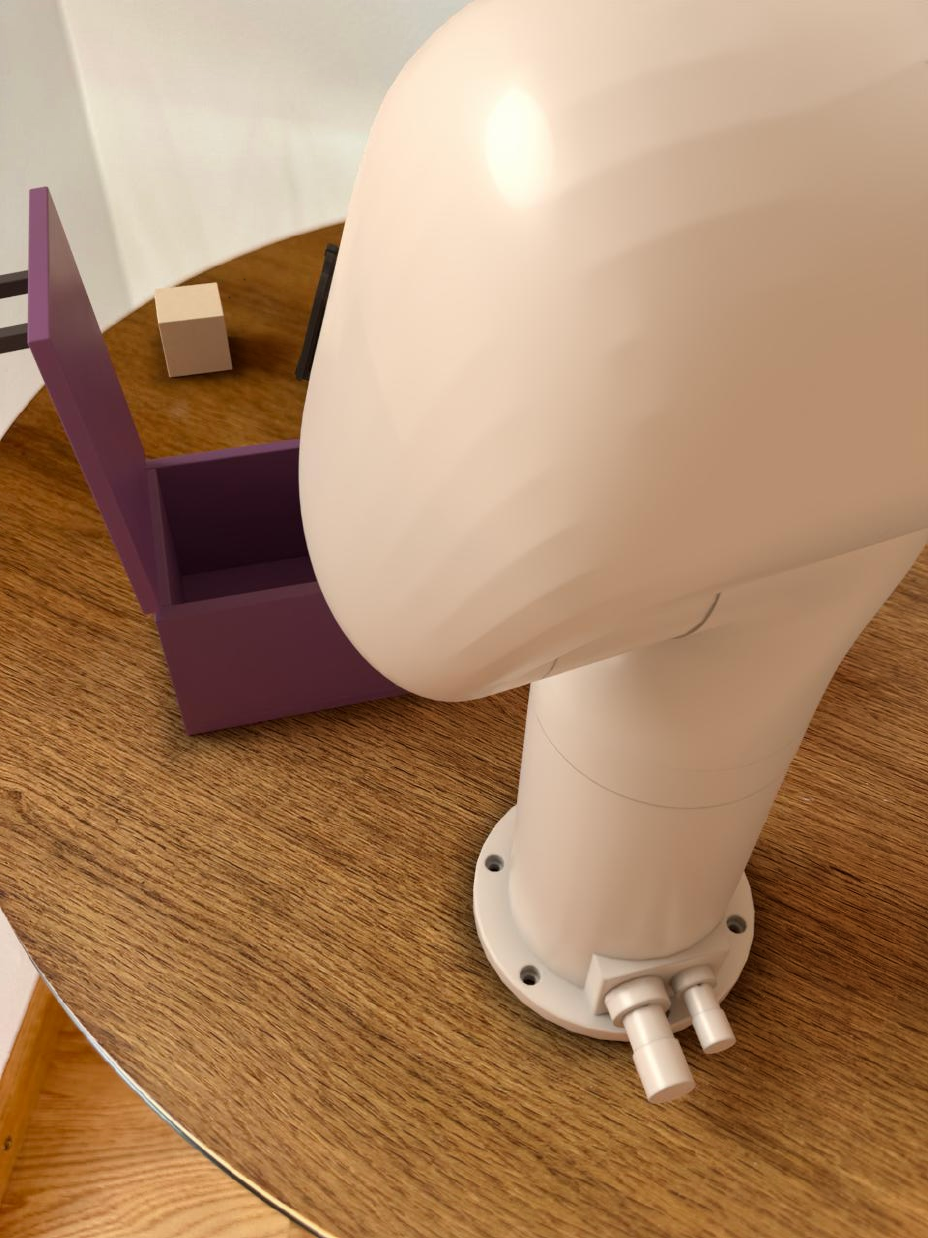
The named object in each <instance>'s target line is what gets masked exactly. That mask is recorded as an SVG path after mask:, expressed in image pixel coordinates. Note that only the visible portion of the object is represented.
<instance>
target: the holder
mask: <svg viewBox="0 0 928 1238" xmlns="http://www.w3.org/2000/svg"><path fill="white" fill-rule="evenodd" d="M299 450H300V437H299V438H293V439H286V440H277V441H272V442H264V443H257V444H251V445H243V446H236V447H229V448H222V449H215V450H210V451H200V452H194V453H187V454H186V453H185V454H180V455H173V456H172V455H171V456H166V457H158V458H152V459H146V468H147V478H148V487H149V497H150V507H151V516H152V526H153V535H154V545H155V554H156V564H157V573H158V583H159V593H160V602H161V611H160V612H156V613H153V614H154V623H155V626H156V629H157V630H156V631H157V633H158V635H159V636H158V637H159V640H160V644H161V647H162V651H163V654H164V658H165V662H166V666H167V669H168V672H169V676H170V680H171V685H172V687H173V691H174V694H175V697H176V701H177V705H178V709H179V712H180V716H181V719H182V723H183V726H184V731H185V733H186V736H189V737H190V736H194V735H199V734H204V733H209V732H215V731H220V730H225V729H230V728H236V727H240V726H245V725H253V724H256V723H262V722H267V721H272V720H278V719H283V718H288V717H294V716H299V715H304V714H309V713H315V712H320V711H325V710H329V709H330V710H331V709H335V708H340V707H346V706H351V705H356V704H360V703H366V702H371V701H377V700H382V699H388V698H393V697H399V696H402V695H403V696H404V695H408V694H413V693H412V692H409V691H407V690H405V689H403V688H402V687H400V686H398V685H396V684H395V683H393V682H392V681H390V680H389V679H387V678H386V677H385V676H383V675H382V674H381V673H380V672H379V671H377V670H376V669H375V668H374V667H373V666H372V665H371V664H370V663H369V662H368V661H367V660H366V659H365V658H364V657H363V656H362V655H361V654H360V653H359V651H358V650H357V649H356V648H355V647H354V646H353V644H352V643H351V642H350V640H349V639H348V638H347V636H346V635H345V633H344V632H343V630H342V629H341V627H340V626H339V624H338V622H337V621H336V619H335V617H334V616H333V614H332V612H331V610H330V608H329V606H328V604H327V602H326V600H325V598H324V595H323V593H322V591H321V589H320V586H319V583H318V580H317V578H316V575H315V572H314V569H313V565H312V562H311V558H310V555H309V551H308V547H307V542H306V538H305V533H304V528H303V521H302V515H301V506H300V495H299Z"/></svg>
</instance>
